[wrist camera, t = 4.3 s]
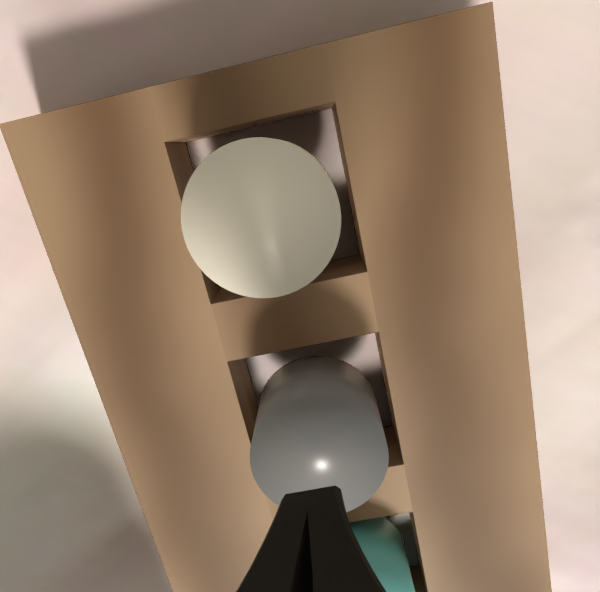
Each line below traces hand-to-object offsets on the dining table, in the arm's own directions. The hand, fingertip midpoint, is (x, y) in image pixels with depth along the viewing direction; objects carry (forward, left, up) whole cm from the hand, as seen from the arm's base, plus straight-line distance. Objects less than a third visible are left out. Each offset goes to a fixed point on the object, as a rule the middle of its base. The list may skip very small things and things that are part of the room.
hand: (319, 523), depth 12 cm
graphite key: (0, 0, -5) cm, 5 cm away
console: (0, 0, -8) cm, 8 cm away
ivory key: (0, -7, -5) cm, 9 cm away
